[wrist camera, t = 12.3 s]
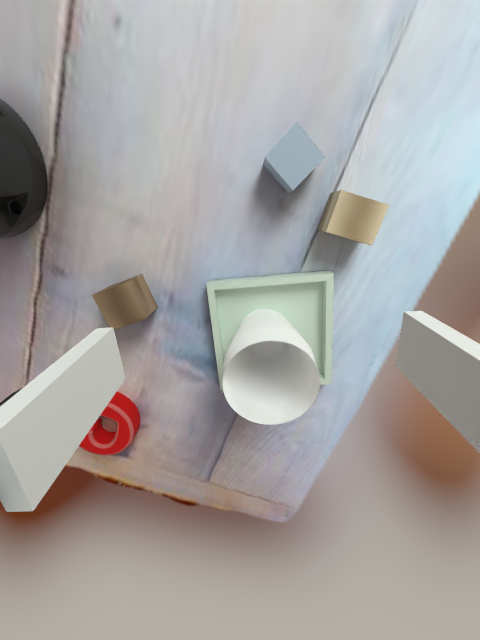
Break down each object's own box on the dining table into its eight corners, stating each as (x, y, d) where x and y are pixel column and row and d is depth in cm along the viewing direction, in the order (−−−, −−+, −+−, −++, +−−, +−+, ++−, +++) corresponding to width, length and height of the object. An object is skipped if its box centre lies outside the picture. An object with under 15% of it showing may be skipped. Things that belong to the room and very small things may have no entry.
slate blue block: (287, 193, 32) (293, 190, 28) (263, 164, 31) (264, 157, 27) (316, 164, 30) (325, 157, 27) (291, 133, 30) (297, 122, 26)
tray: (221, 382, 40) (220, 390, 38) (208, 280, 35) (206, 283, 33) (327, 376, 39) (331, 384, 37) (329, 270, 34) (333, 273, 32)
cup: (303, 359, 38) (326, 419, 26) (236, 368, 39) (230, 431, 27) (295, 293, 35) (317, 331, 24) (223, 305, 36) (210, 347, 24)
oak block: (317, 229, 33) (325, 231, 29) (330, 193, 31) (341, 190, 28) (358, 242, 33) (371, 245, 29) (372, 206, 32) (389, 205, 28)
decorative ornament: (153, 413, 43) (146, 428, 40) (118, 450, 45) (109, 467, 42) (98, 376, 41) (86, 388, 38) (65, 416, 43) (52, 431, 40)
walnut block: (127, 317, 37) (111, 330, 33) (110, 285, 36) (91, 295, 32) (158, 306, 37) (146, 318, 32) (142, 273, 35) (127, 281, 31)
